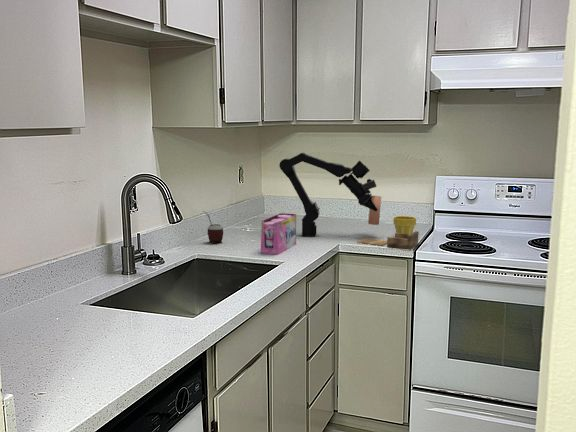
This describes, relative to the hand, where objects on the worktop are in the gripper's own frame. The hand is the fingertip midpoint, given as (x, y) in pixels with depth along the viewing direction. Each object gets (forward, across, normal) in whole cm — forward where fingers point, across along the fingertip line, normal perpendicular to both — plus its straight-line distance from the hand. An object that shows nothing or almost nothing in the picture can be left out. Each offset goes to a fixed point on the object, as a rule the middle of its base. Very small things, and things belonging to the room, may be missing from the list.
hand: (376, 209), depth 263 cm
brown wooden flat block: (+14, -14, +7) cm, 21 cm away
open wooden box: (+17, -16, +1) cm, 24 cm away
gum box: (-20, -30, +39) cm, 53 cm away
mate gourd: (-40, -25, +60) cm, 77 cm away
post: (+4, 0, +6) cm, 7 cm away
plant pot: (+19, +2, 0) cm, 19 cm away
